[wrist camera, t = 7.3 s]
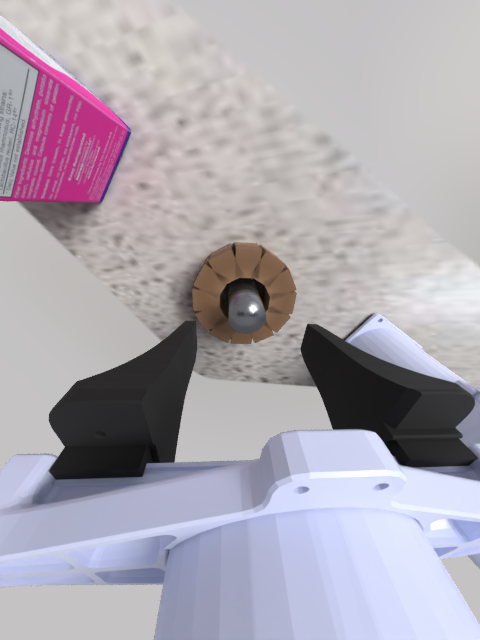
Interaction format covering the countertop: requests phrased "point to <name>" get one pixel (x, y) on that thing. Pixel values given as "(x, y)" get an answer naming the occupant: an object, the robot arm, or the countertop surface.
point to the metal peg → (245, 306)
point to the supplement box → (52, 128)
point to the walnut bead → (243, 264)
